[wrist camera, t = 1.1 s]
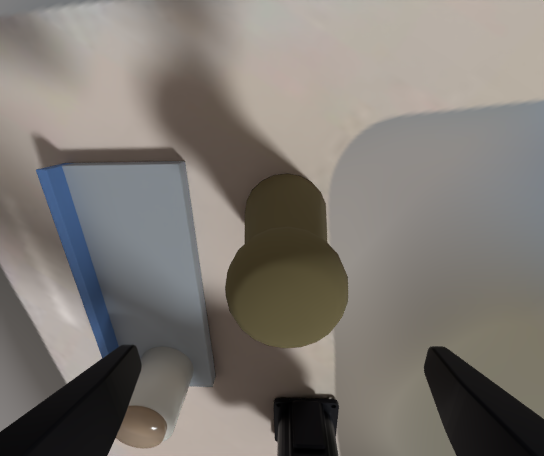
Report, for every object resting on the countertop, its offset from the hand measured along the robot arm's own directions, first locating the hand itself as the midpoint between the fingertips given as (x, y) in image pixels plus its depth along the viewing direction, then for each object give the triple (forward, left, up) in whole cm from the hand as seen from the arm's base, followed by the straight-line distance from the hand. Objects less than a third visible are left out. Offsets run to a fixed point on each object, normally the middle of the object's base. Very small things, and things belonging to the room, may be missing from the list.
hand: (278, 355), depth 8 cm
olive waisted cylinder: (0, 0, -13) cm, 13 cm away
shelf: (-6, +11, -13) cm, 18 cm away
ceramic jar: (-14, +11, -12) cm, 22 cm away
